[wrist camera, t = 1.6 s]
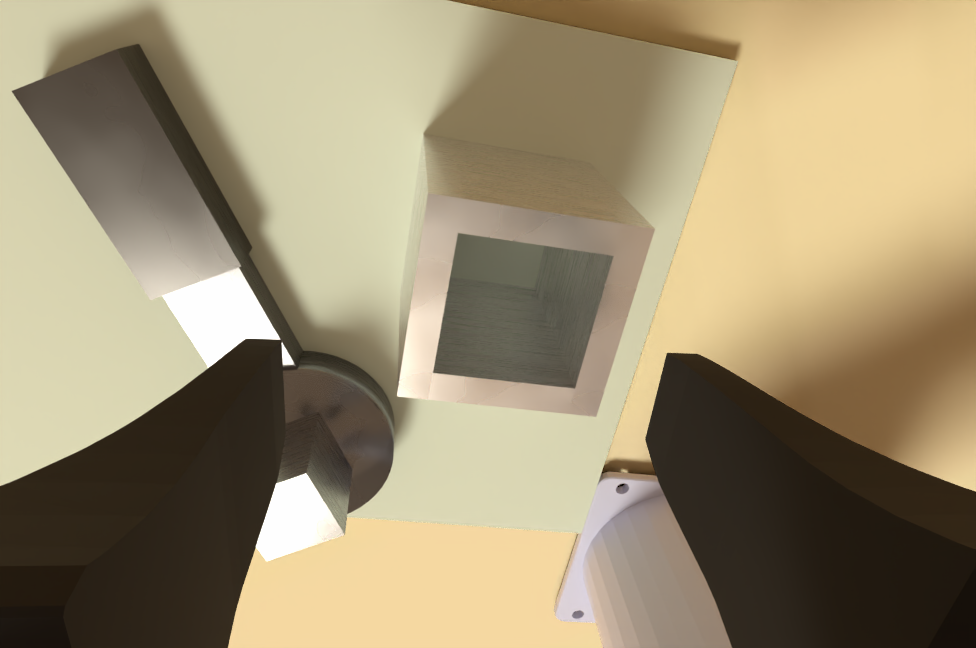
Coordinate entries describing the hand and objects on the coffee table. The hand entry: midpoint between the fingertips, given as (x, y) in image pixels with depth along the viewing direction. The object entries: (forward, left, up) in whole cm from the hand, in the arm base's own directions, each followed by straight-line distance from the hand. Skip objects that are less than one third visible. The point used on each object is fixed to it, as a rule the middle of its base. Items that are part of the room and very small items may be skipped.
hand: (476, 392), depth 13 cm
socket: (-1, 0, -9) cm, 9 cm away
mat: (+4, +3, -10) cm, 11 cm away
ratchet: (+6, +4, -9) cm, 11 cm away
